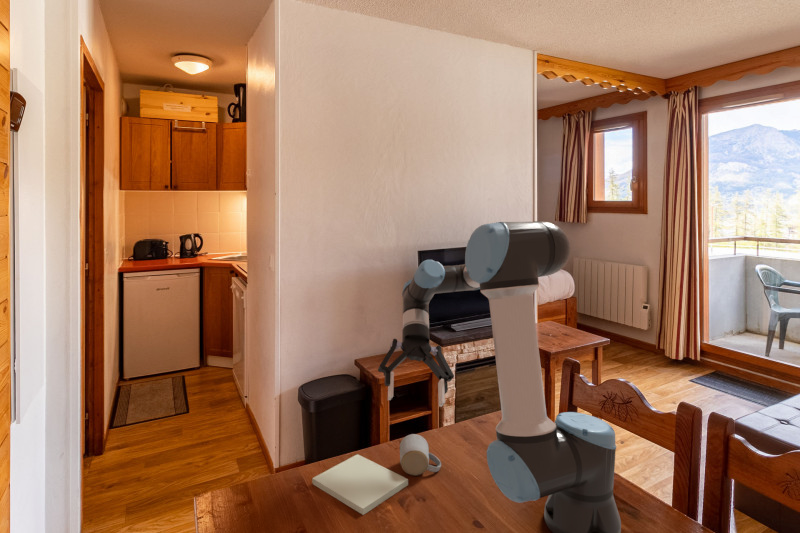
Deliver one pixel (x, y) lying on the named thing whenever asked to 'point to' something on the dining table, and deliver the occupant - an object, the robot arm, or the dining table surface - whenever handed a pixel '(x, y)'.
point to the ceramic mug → (416, 455)
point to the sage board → (360, 483)
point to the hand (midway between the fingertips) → (416, 401)
